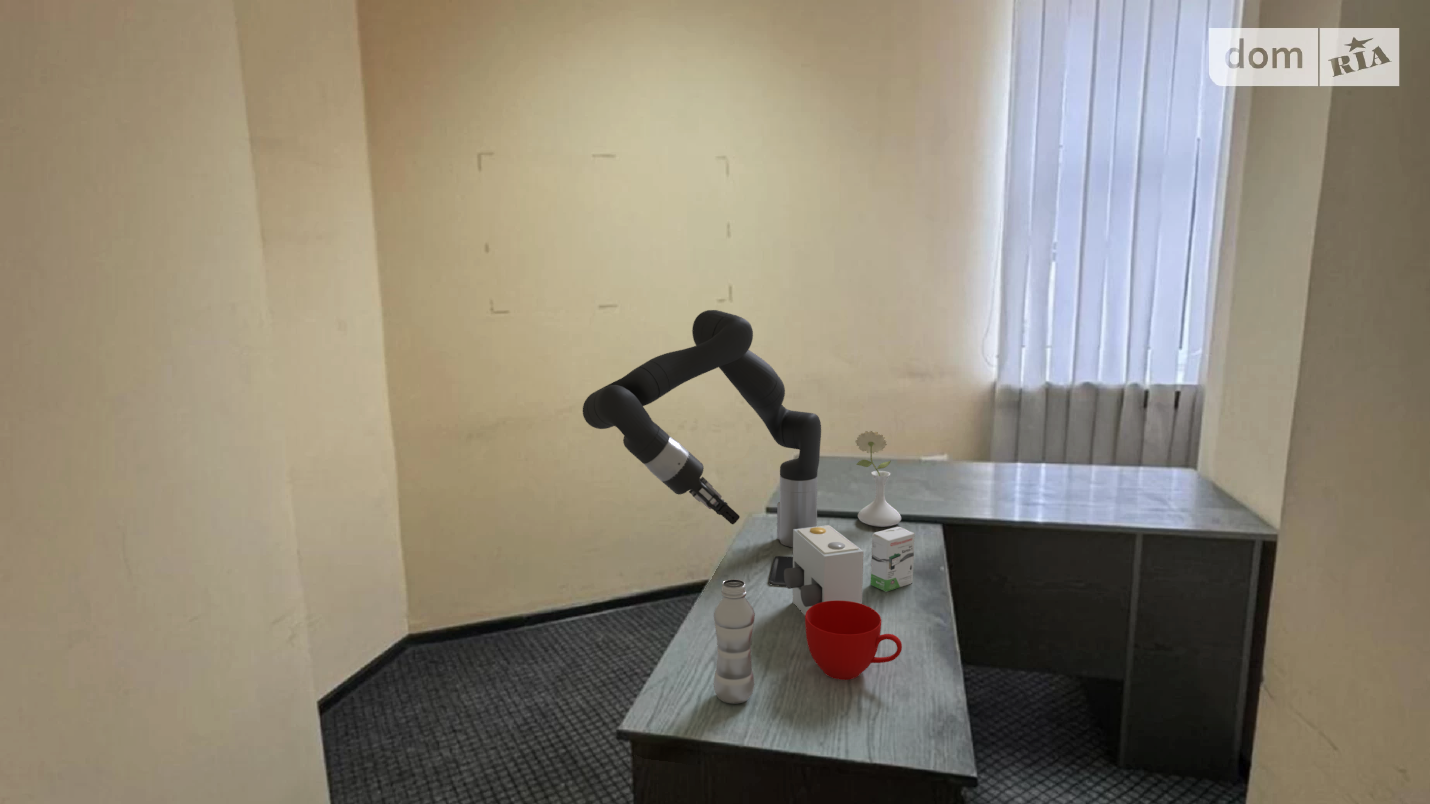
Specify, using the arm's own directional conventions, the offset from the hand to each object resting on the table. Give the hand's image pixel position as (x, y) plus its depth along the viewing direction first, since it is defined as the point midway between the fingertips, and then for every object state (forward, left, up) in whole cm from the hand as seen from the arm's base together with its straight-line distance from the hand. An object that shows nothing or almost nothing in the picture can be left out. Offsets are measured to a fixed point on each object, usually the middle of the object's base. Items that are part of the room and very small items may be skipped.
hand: (735, 519), depth 150 cm
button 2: (+12, +10, -16) cm, 22 cm away
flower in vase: (-22, +63, -21) cm, 70 cm away
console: (+10, +16, -21) cm, 28 cm away
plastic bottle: (+22, -17, -21) cm, 35 cm away
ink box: (+7, +37, -21) cm, 43 cm away
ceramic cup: (+28, +4, -21) cm, 35 cm away
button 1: (+4, +12, -16) cm, 20 cm away
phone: (-11, +23, -21) cm, 33 cm away
